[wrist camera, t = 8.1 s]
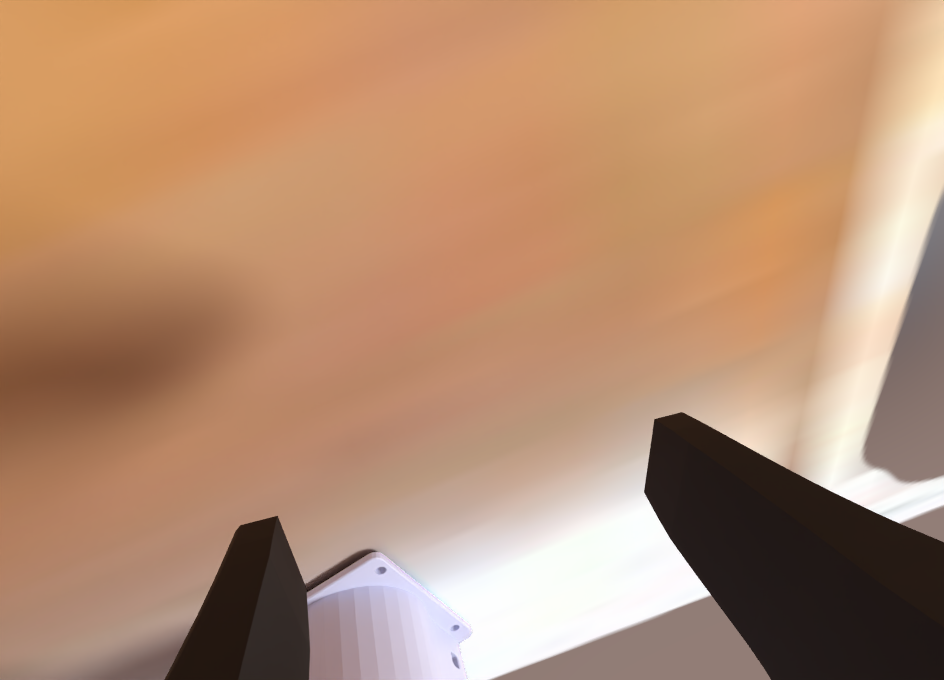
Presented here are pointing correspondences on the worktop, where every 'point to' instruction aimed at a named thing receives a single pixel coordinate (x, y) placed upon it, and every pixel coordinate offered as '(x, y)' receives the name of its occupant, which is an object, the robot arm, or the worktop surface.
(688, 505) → the robot arm
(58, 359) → the worktop surface
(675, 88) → the worktop surface
